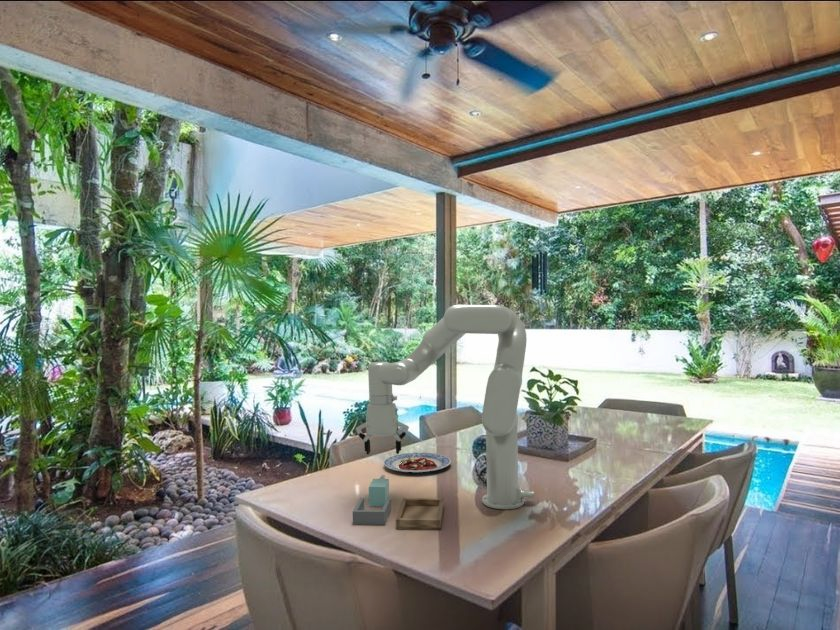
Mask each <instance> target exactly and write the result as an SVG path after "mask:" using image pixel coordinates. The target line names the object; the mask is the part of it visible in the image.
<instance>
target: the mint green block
mask: <svg viewBox="0 0 840 630" xmlns="http://www.w3.org/2000/svg"><path fill="white" fill-rule="evenodd" d="M387 498H390V479H389V478H386V477H385V474H381V475H380V477H379V478H372V481H371V482H370V484H369V485H368V507H374V506H376V507H378V506H380V507H381V508H383V506H384V504H385V502H386V500H387Z"/></svg>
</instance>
